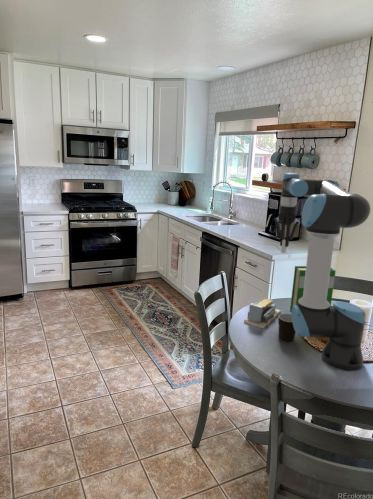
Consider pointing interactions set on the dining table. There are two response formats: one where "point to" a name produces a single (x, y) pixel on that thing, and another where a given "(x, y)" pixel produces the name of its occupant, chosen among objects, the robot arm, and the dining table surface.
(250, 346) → the dining table surface
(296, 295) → the hardback book
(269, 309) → the heat-sink block
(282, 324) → the coffee mug
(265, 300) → the tan flat bar
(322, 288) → the robot arm
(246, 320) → the birch board
